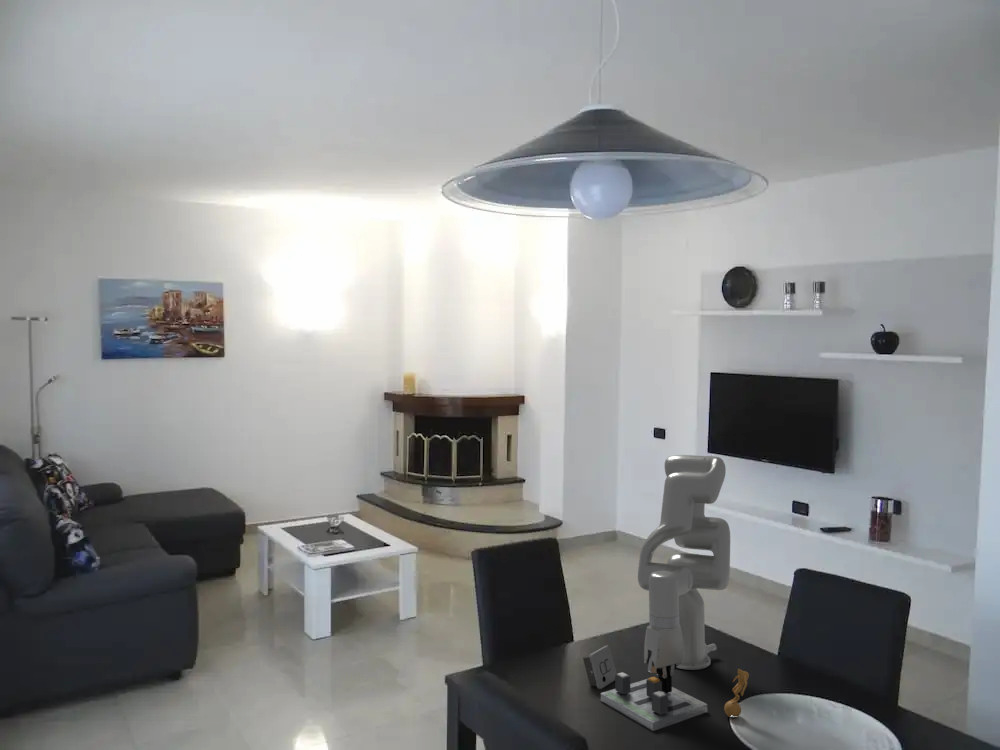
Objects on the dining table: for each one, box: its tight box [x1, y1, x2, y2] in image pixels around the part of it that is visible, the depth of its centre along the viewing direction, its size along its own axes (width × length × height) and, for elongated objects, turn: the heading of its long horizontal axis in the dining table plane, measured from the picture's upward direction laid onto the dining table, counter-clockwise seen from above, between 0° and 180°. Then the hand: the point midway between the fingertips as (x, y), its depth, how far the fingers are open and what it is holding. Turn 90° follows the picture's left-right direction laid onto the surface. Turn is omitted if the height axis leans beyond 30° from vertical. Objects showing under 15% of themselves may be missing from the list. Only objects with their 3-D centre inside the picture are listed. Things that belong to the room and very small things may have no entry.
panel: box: [600, 678, 708, 732], centre depth 204 cm, size 18×20×2 cm
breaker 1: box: [614, 671, 631, 694], centre depth 208 cm, size 2×3×4 cm
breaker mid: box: [646, 676, 662, 698], centre depth 204 cm, size 2×3×5 cm
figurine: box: [723, 668, 750, 718], centre depth 197 cm, size 8×6×12 cm
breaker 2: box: [652, 691, 668, 715], centre depth 196 cm, size 2×3×4 cm
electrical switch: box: [582, 645, 618, 690], centre depth 219 cm, size 9×5×9 cm, turn 141°
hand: (665, 690), depth 206 cm, fingers closed
